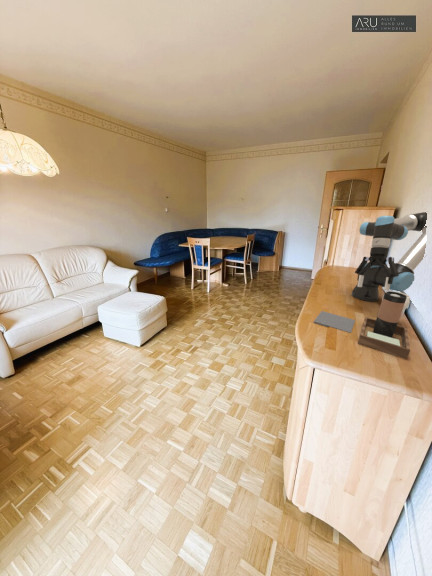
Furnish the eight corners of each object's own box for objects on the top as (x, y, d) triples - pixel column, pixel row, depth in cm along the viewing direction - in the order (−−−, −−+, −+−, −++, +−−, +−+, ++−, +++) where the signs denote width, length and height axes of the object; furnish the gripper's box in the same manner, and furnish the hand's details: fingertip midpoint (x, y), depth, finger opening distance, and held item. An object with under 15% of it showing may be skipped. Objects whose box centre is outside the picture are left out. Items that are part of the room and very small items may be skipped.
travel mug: (395, 341, 97) (411, 298, 91) (376, 339, 99) (390, 296, 92) (387, 332, 104) (400, 292, 98) (368, 330, 106) (381, 290, 99)
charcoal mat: (321, 312, 123) (321, 310, 122) (354, 321, 114) (355, 320, 114) (313, 322, 110) (313, 321, 110) (350, 334, 102) (350, 332, 101)
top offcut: (366, 333, 99) (367, 331, 98) (398, 342, 93) (399, 339, 92) (366, 341, 93) (366, 338, 92) (399, 351, 87) (400, 348, 86)
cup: (379, 323, 113) (388, 295, 108) (373, 315, 122) (381, 289, 117) (404, 328, 109) (415, 299, 104) (397, 319, 119) (406, 292, 114)
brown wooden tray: (362, 325, 110) (365, 316, 109) (403, 336, 102) (407, 327, 100) (357, 344, 94) (360, 335, 92) (406, 360, 85) (410, 350, 83)
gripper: (352, 247, 125) (345, 285, 127) (403, 245, 102) (394, 291, 104) (360, 249, 128) (354, 286, 130) (413, 247, 105) (404, 292, 107)
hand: (372, 288), depth 117 cm, fingers open, 13 cm apart
